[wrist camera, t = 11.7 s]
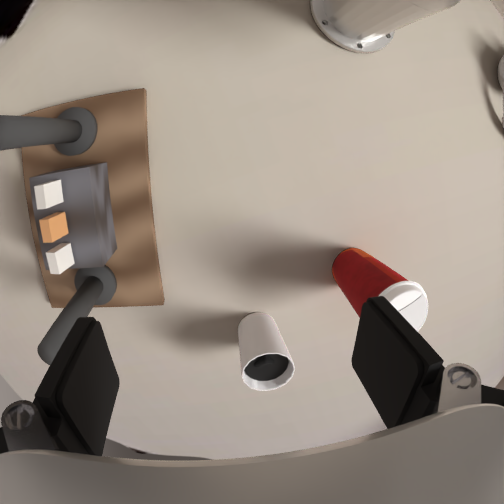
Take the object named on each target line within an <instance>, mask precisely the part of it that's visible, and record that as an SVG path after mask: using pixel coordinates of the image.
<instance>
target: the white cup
mask: <svg viewBox="0 0 504 504" xmlns="http://www.w3.org/2000/svg"><path fill="white" fill-rule="evenodd" d="M238 338H239V349H240V361H241V372H242V378H243V380H244V383H245V384H246V385H248V386H249V387H250V388H252V389H255V390H259V391H270V390H273V389H277V388H280V387H281V386H283V385H285V384H286V383H287V382H288V381H289V380H290V379H291V378H292V377H293V374H294V370H295V367H294V363H293V360H292V358H291V356H290V354H289V351H288V349H287V347H286V345H285V342H284V340H283V338H282V336H281V334H280V331H279V329H278V327H277V325H276V322H275V320H274V319H273V318H272V317H271V316H270V315H268V314H266V313H260V312H256V313H252V314H249V315H247V316H246V317H244V318H243V319H242V320H241V322H240V323H239V327H238Z"/></svg>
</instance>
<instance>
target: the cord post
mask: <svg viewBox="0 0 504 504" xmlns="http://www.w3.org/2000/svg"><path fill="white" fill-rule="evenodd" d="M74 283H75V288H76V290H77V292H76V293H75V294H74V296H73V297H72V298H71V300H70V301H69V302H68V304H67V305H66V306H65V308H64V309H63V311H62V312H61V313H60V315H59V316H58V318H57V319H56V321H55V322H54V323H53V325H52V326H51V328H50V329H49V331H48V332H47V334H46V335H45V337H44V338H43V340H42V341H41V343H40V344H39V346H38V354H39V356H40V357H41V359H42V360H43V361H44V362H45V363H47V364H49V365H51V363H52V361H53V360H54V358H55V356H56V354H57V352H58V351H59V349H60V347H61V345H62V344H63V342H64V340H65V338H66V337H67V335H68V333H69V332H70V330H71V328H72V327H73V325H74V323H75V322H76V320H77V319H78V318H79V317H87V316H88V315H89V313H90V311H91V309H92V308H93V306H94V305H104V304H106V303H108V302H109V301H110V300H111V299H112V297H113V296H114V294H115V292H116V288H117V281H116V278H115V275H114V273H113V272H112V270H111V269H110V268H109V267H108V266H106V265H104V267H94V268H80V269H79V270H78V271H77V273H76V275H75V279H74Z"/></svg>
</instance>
